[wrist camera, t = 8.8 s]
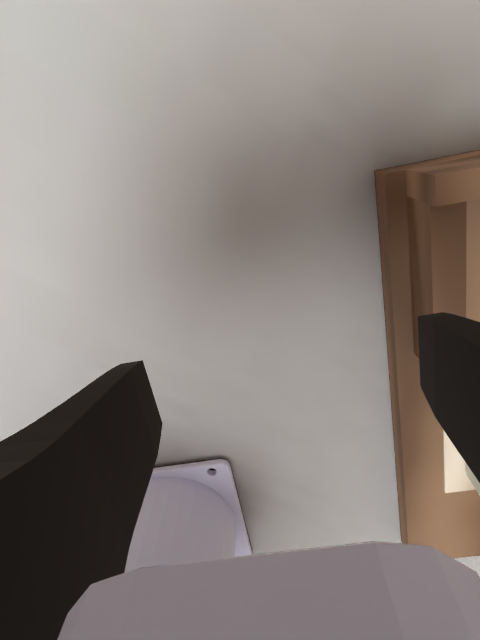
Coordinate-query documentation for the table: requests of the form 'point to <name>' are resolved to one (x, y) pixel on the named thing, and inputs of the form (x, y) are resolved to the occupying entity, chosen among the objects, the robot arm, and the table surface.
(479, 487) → the block
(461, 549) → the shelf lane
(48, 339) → the table surface
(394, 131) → the table surface
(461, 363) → the robot arm
